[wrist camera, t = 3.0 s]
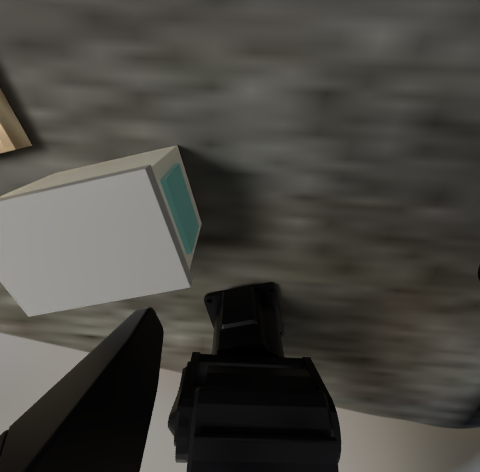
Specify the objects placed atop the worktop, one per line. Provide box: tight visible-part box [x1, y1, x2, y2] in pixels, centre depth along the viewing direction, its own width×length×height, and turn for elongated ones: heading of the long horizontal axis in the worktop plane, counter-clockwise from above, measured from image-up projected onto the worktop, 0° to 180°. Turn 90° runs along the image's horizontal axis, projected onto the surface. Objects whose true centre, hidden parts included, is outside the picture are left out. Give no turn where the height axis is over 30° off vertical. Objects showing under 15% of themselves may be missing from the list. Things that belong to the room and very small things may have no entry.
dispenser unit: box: [0, 145, 202, 317], centre depth 16 cm, size 6×10×8 cm
